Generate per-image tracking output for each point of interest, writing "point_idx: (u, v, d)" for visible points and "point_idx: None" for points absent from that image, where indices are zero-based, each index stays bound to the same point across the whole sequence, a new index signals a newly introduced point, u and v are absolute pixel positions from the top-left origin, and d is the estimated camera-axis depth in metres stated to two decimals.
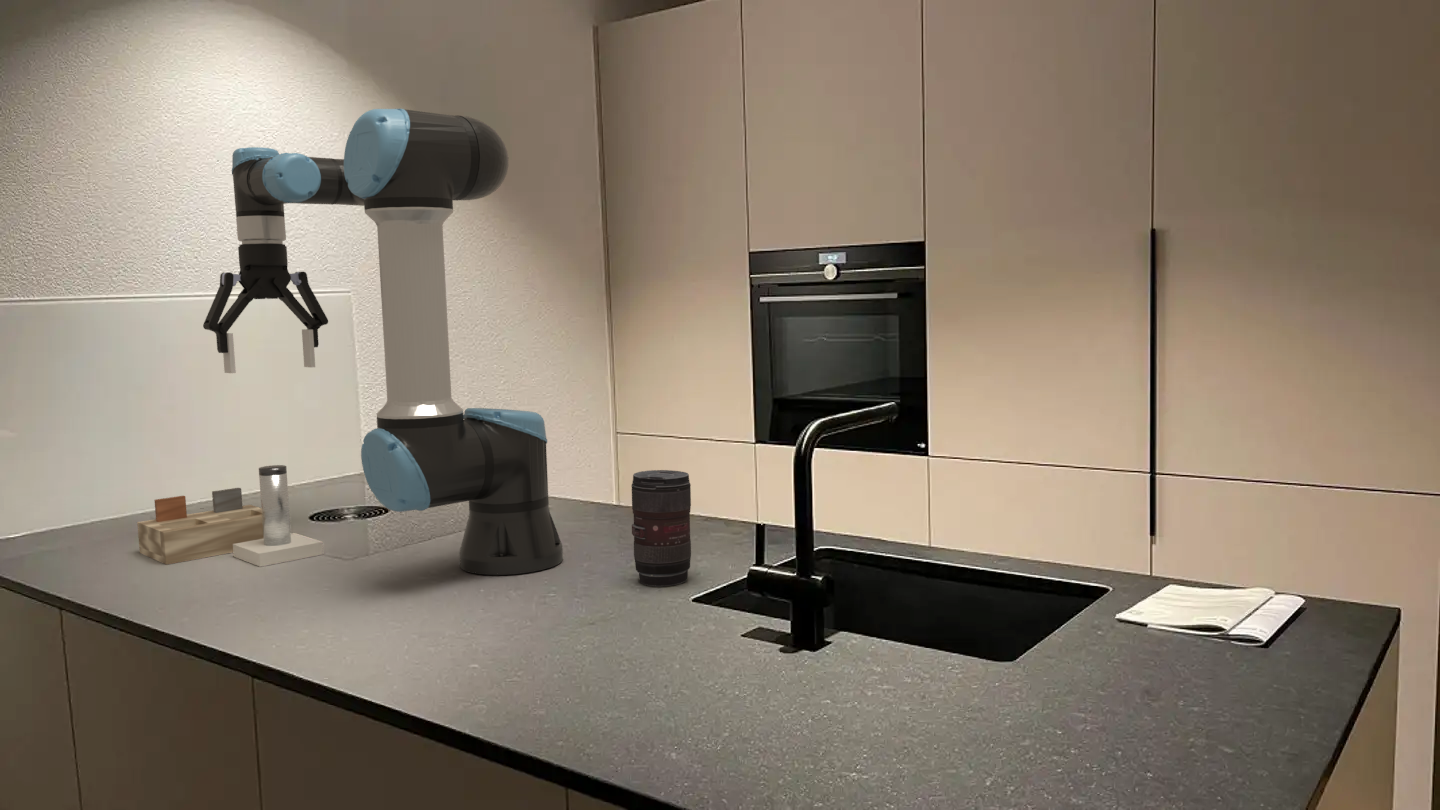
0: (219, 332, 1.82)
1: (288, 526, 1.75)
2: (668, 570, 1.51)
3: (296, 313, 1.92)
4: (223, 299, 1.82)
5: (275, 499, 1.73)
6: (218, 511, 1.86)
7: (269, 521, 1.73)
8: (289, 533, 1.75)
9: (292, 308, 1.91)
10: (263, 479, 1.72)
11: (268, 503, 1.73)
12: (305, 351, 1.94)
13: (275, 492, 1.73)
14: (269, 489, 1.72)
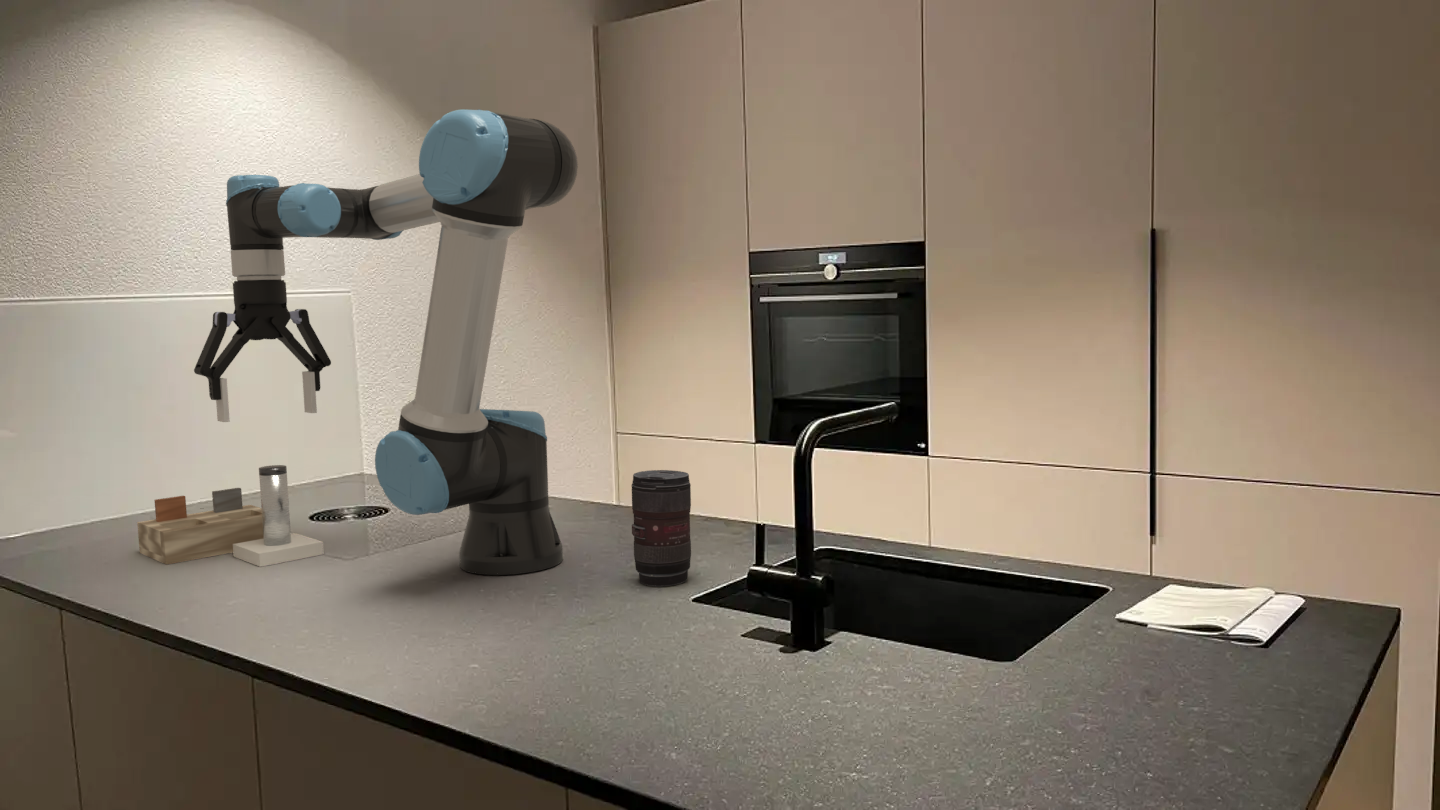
0: (212, 377, 1.66)
1: (288, 526, 1.75)
2: (668, 570, 1.51)
3: (296, 354, 1.76)
4: (216, 341, 1.66)
5: (275, 499, 1.73)
6: (218, 511, 1.86)
7: (269, 521, 1.73)
8: (289, 533, 1.75)
9: (292, 349, 1.75)
10: (263, 479, 1.72)
11: (268, 503, 1.73)
12: (306, 395, 1.78)
13: (275, 492, 1.73)
14: (269, 489, 1.73)
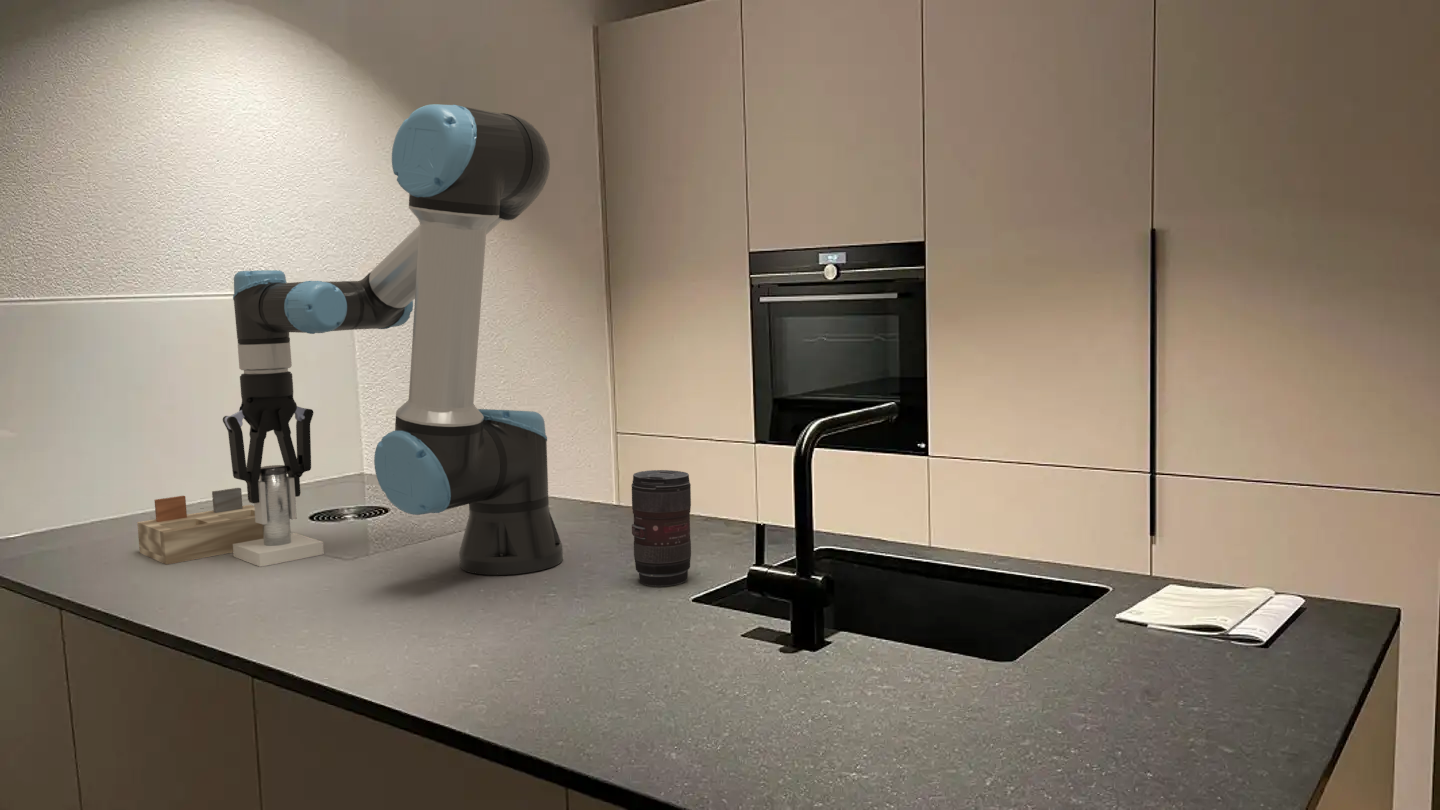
0: (250, 482, 1.71)
1: (288, 526, 1.75)
2: (668, 570, 1.51)
3: (284, 453, 1.75)
4: (239, 445, 1.69)
5: (275, 499, 1.73)
6: (218, 511, 1.86)
7: (269, 521, 1.73)
8: (289, 533, 1.75)
9: (282, 447, 1.75)
10: (263, 479, 1.72)
11: (268, 503, 1.73)
12: None
13: (275, 492, 1.73)
14: (269, 489, 1.73)
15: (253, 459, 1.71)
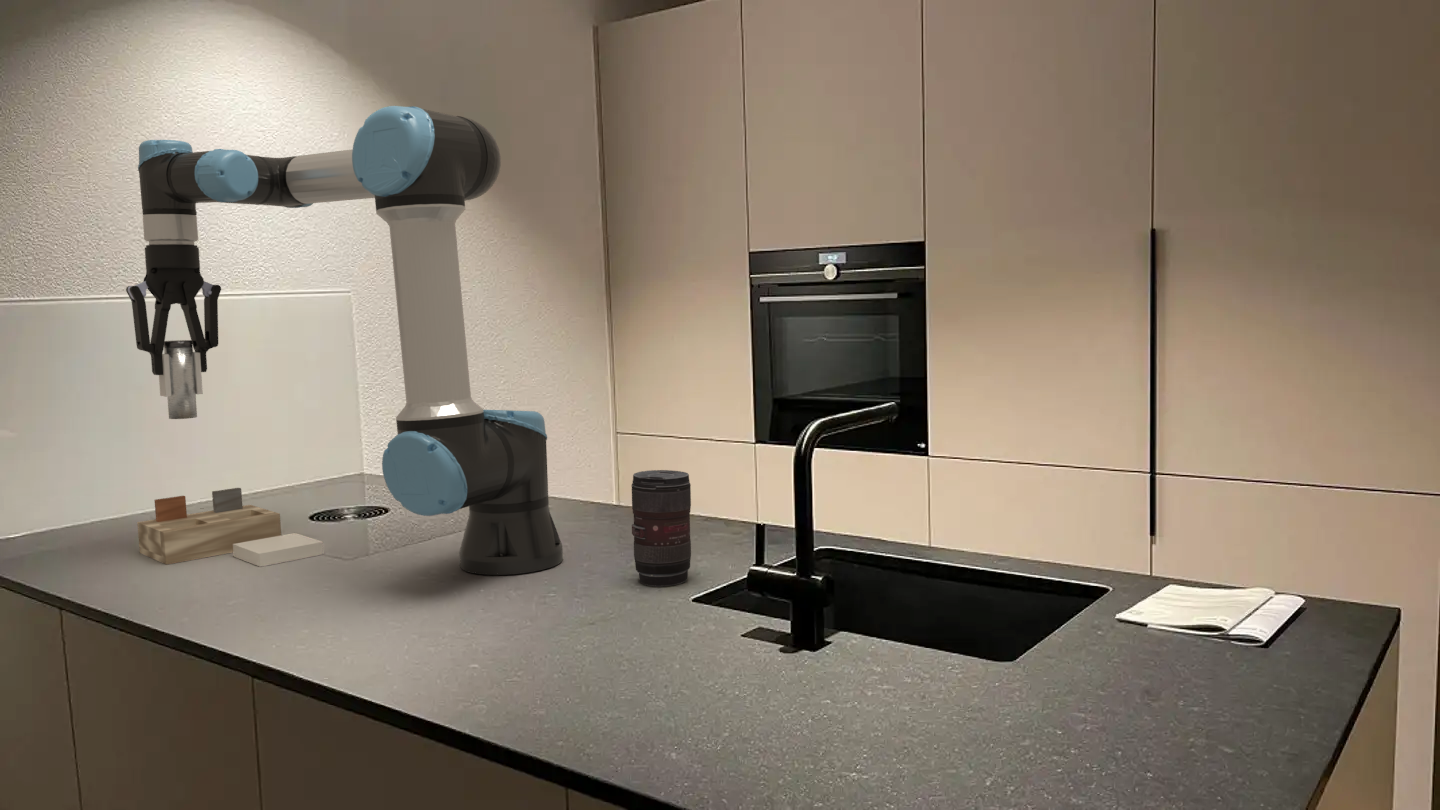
0: (154, 353, 1.71)
1: (193, 400, 1.75)
2: (668, 570, 1.51)
3: (190, 328, 1.75)
4: (142, 315, 1.69)
5: (179, 371, 1.73)
6: (218, 511, 1.86)
7: (173, 394, 1.73)
8: (194, 408, 1.75)
9: (188, 321, 1.75)
10: (168, 351, 1.73)
11: (172, 376, 1.73)
12: None
13: (180, 365, 1.73)
14: (173, 361, 1.73)
15: (157, 330, 1.71)
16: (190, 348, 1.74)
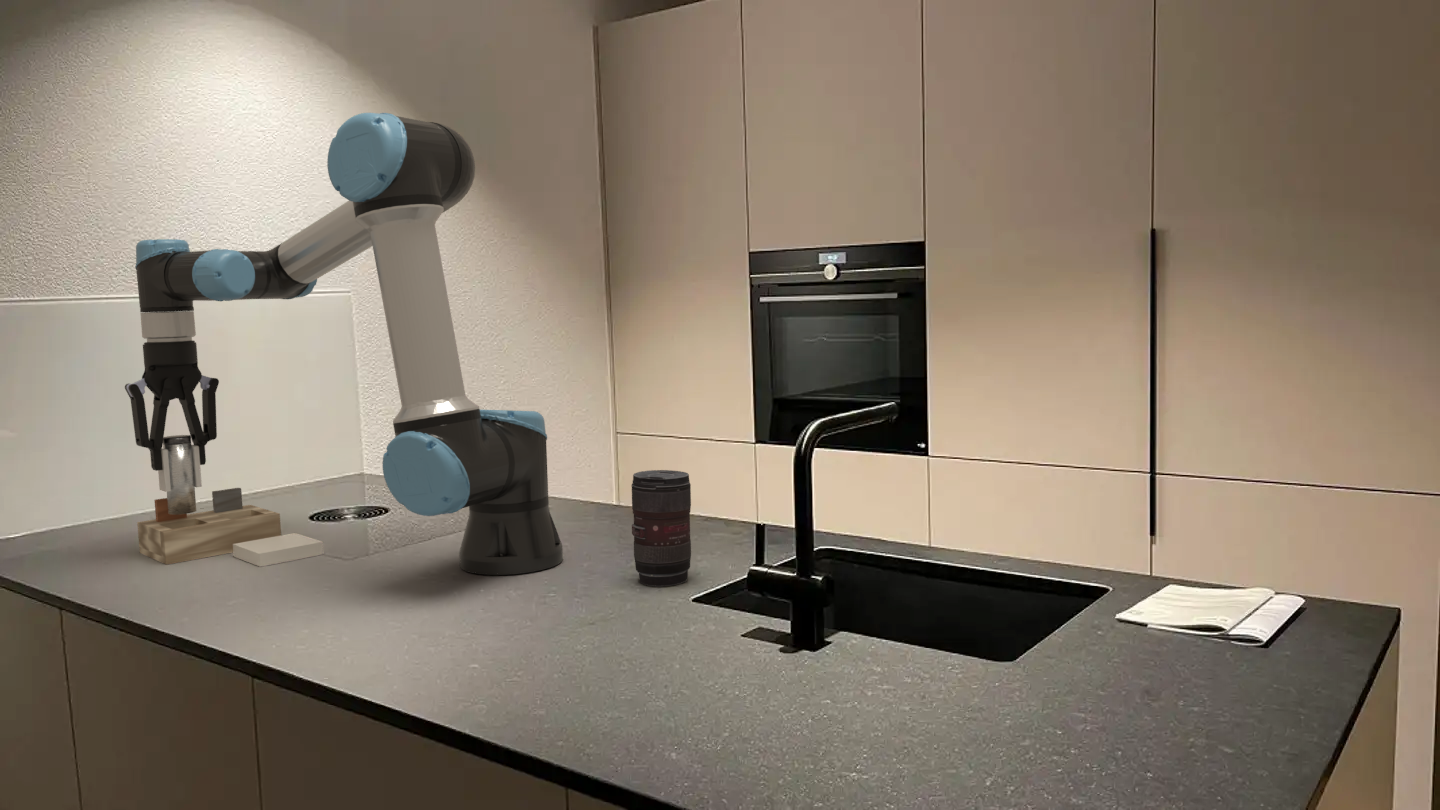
0: (153, 449, 1.73)
1: (192, 495, 1.77)
2: (668, 570, 1.51)
3: (188, 422, 1.77)
4: (141, 413, 1.71)
5: (178, 468, 1.75)
6: (218, 511, 1.86)
7: (173, 490, 1.75)
8: (193, 502, 1.77)
9: (187, 415, 1.77)
10: (166, 448, 1.74)
11: (171, 472, 1.74)
12: None
13: (179, 461, 1.75)
14: (172, 458, 1.74)
15: (156, 427, 1.73)
16: (189, 444, 1.76)
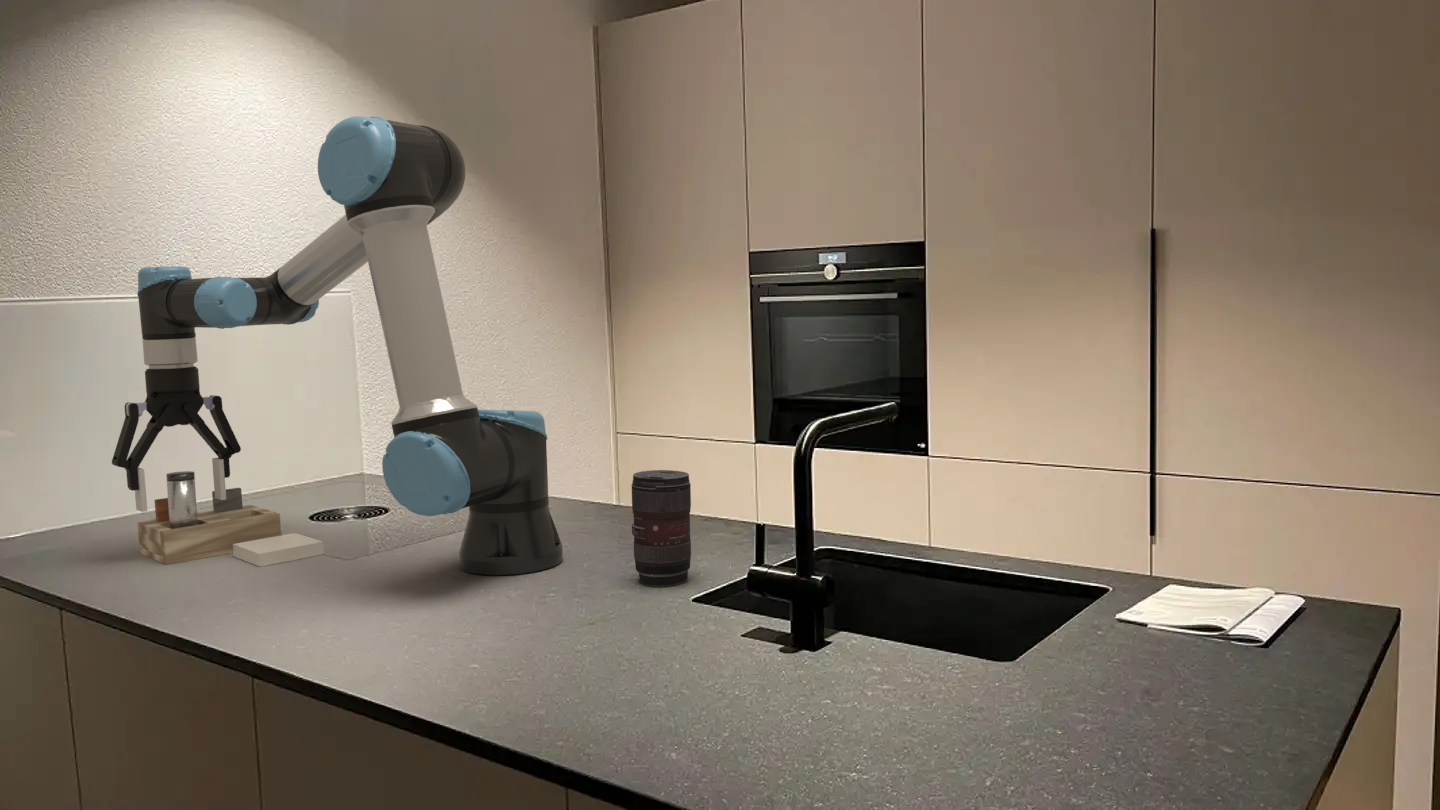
0: (129, 469, 1.70)
1: None
2: (668, 570, 1.51)
3: (206, 440, 1.79)
4: (130, 433, 1.70)
5: (182, 504, 1.75)
6: (218, 511, 1.86)
7: (176, 526, 1.75)
8: None
9: (202, 435, 1.79)
10: (170, 485, 1.75)
11: (174, 509, 1.75)
12: (216, 482, 1.81)
13: (182, 498, 1.75)
14: (176, 494, 1.75)
15: (140, 447, 1.71)
16: (192, 480, 1.77)
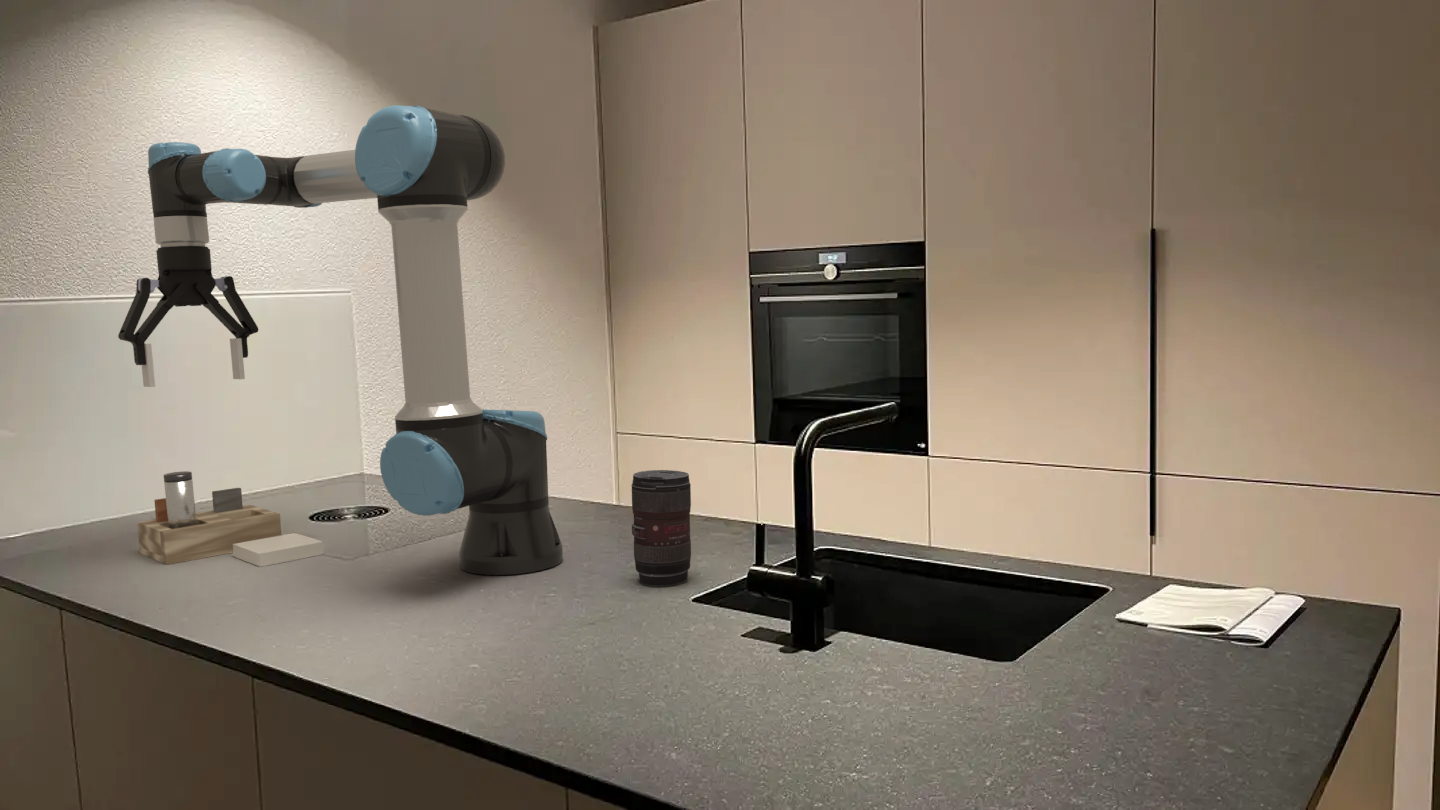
0: (136, 342, 1.68)
1: None
2: (668, 570, 1.51)
3: (223, 321, 1.78)
4: (139, 307, 1.68)
5: (180, 505, 1.75)
6: (218, 511, 1.86)
7: (175, 527, 1.75)
8: None
9: (218, 316, 1.77)
10: (168, 486, 1.75)
11: (173, 510, 1.75)
12: (234, 362, 1.80)
13: (180, 499, 1.75)
14: (174, 495, 1.75)
15: (149, 321, 1.69)
16: (190, 481, 1.76)
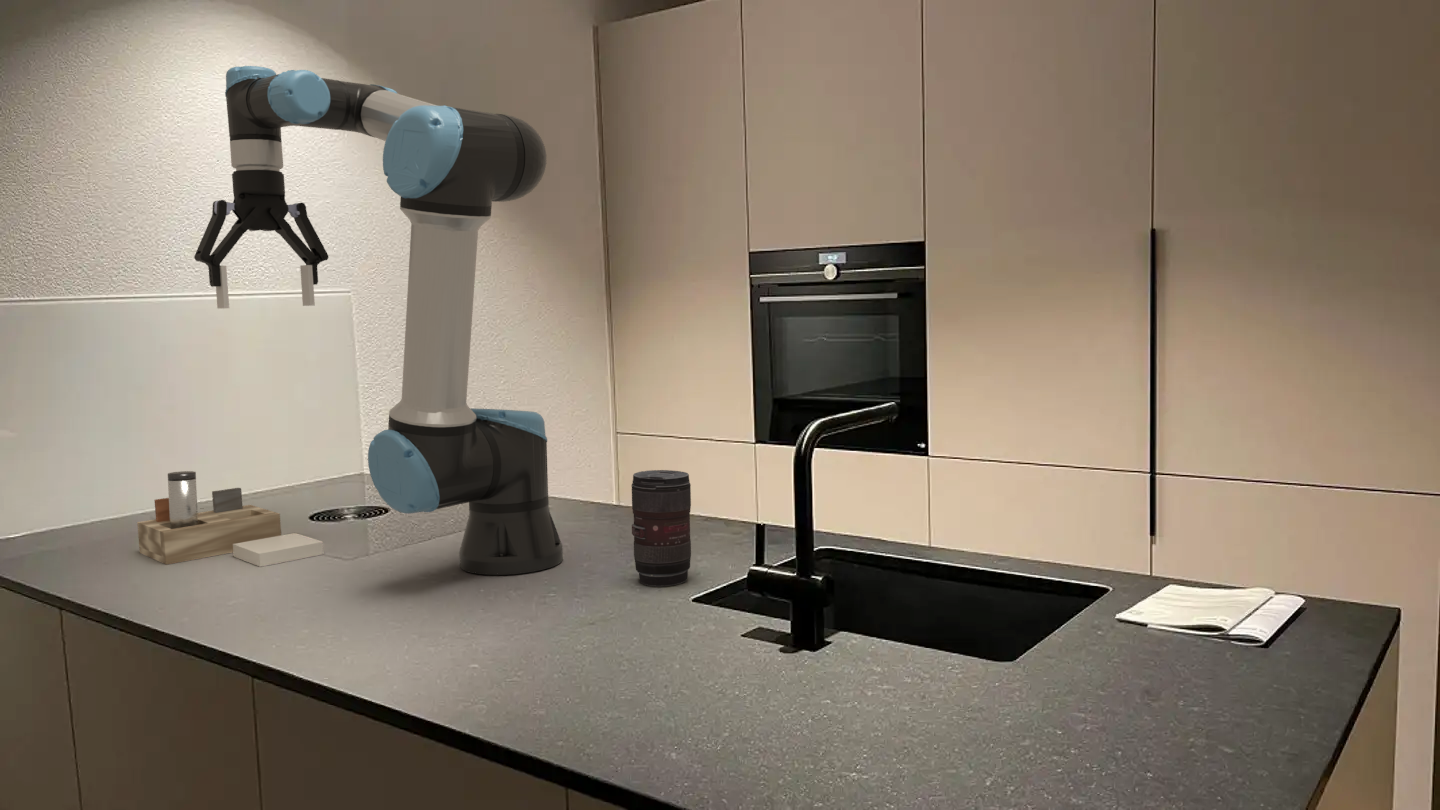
0: (211, 264, 1.70)
1: None
2: (668, 570, 1.51)
3: (294, 247, 1.80)
4: (216, 228, 1.70)
5: (182, 504, 1.75)
6: (218, 511, 1.86)
7: (176, 526, 1.75)
8: None
9: (290, 242, 1.79)
10: (171, 484, 1.75)
11: (175, 508, 1.75)
12: (304, 289, 1.82)
13: (182, 498, 1.75)
14: (177, 494, 1.75)
15: (224, 244, 1.71)
16: (193, 480, 1.77)
